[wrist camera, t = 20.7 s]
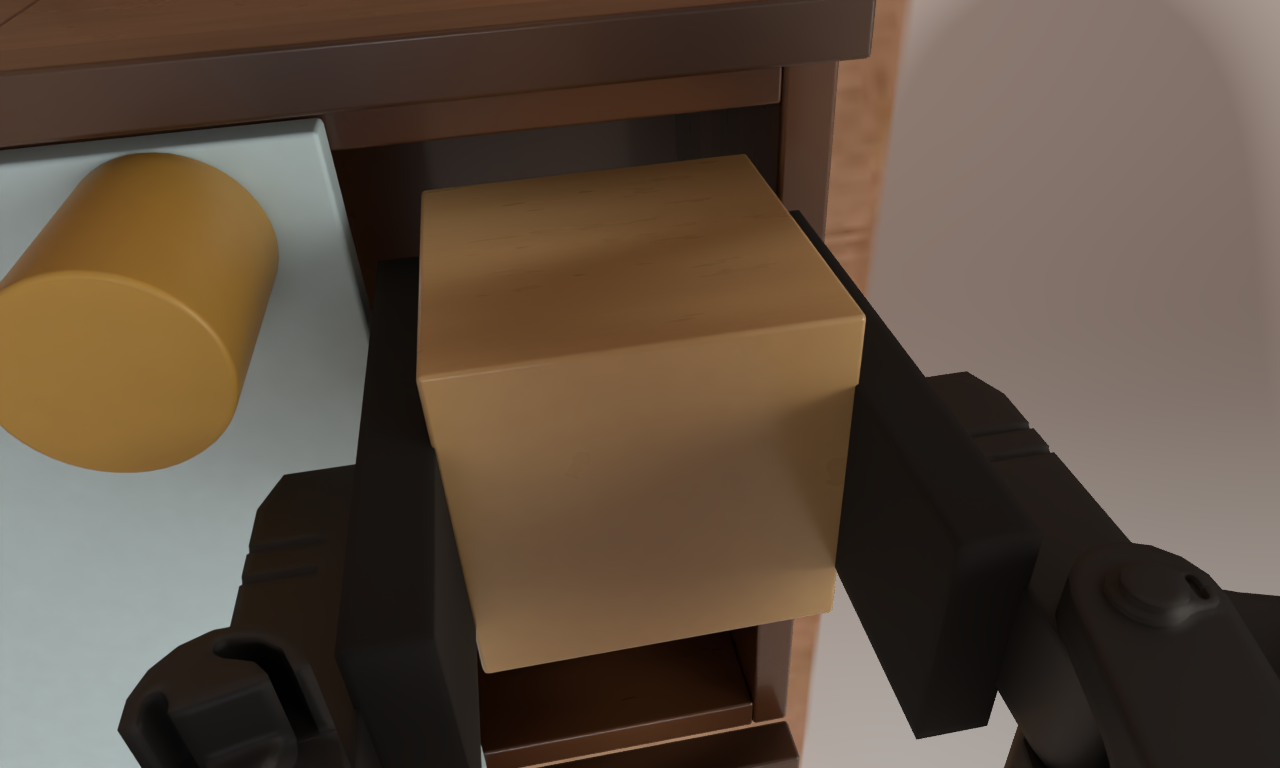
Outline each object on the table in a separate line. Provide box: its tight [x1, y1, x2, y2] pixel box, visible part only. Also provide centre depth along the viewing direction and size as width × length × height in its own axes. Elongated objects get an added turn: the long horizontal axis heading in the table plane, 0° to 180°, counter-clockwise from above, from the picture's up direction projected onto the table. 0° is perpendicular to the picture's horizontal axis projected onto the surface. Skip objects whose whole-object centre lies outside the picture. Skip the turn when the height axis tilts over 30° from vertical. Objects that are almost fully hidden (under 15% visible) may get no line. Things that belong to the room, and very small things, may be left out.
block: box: [416, 154, 866, 673], centre depth 12 cm, size 4×4×4 cm
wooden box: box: [0, 0, 876, 768], centre depth 18 cm, size 13×17×9 cm
